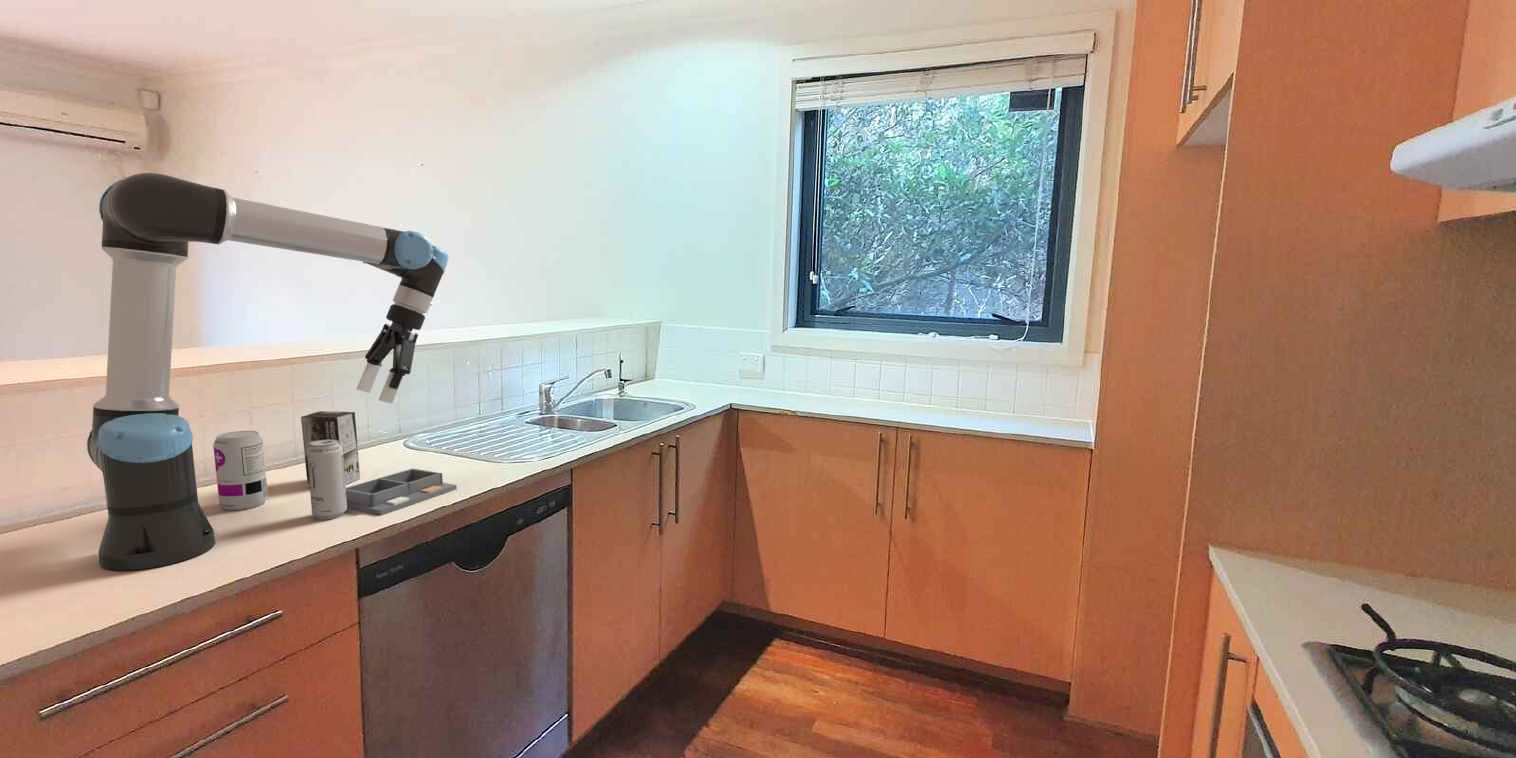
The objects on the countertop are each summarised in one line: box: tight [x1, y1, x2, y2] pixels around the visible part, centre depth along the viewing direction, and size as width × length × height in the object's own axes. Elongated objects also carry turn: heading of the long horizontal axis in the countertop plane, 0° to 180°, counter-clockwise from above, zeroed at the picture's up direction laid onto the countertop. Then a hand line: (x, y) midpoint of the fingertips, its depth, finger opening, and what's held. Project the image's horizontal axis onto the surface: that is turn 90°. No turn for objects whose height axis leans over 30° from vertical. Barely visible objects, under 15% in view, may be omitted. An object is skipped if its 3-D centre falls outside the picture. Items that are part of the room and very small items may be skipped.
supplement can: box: [212, 430, 269, 511], centre depth 144 cm, size 8×8×15 cm
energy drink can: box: [307, 440, 348, 521], centre depth 139 cm, size 6×6×15 cm
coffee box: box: [300, 410, 361, 486], centre depth 161 cm, size 9×6×16 cm
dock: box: [346, 468, 458, 516], centre depth 151 cm, size 19×13×4 cm
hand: (373, 396), depth 158 cm, fingers open, 13 cm apart
